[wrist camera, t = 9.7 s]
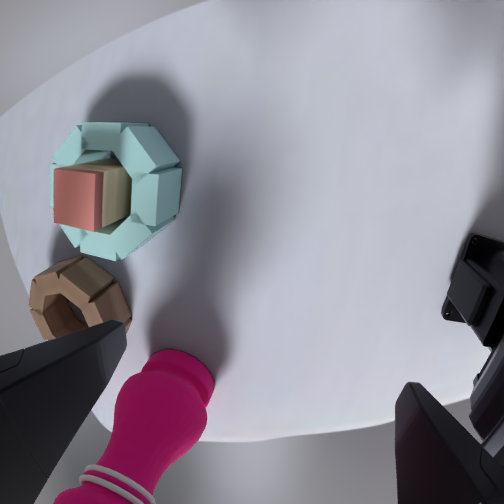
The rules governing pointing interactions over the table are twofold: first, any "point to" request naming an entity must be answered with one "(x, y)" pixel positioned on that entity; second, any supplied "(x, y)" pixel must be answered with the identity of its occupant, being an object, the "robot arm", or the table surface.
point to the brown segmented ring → (75, 298)
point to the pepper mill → (148, 431)
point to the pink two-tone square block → (91, 194)
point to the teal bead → (143, 183)
